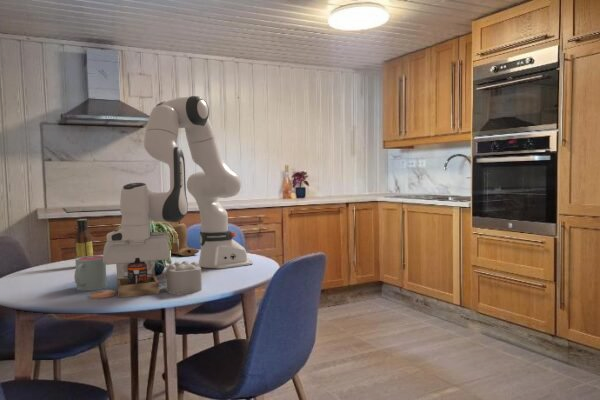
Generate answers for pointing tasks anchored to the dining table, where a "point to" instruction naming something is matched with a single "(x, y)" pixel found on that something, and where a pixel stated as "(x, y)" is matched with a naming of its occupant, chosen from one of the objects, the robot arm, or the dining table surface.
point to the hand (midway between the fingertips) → (137, 275)
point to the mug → (90, 273)
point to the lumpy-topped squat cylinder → (183, 278)
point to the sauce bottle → (83, 240)
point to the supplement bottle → (137, 272)
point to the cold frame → (136, 289)
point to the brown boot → (182, 242)
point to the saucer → (102, 294)
